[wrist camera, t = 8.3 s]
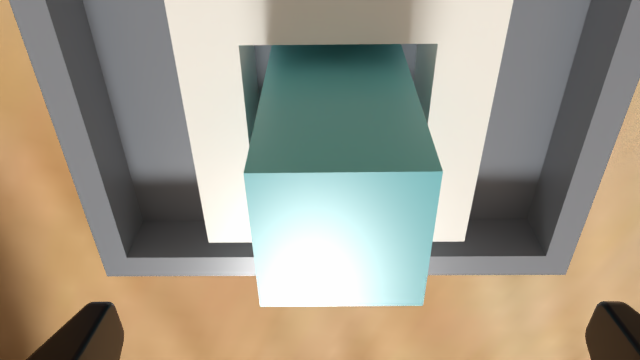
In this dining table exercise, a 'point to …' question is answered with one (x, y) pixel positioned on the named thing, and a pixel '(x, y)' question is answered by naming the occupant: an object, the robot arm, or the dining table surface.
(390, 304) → the plug
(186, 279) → the dining table surface
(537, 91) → the walled box
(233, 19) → the frame
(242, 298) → the dining table surface
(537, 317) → the dining table surface
